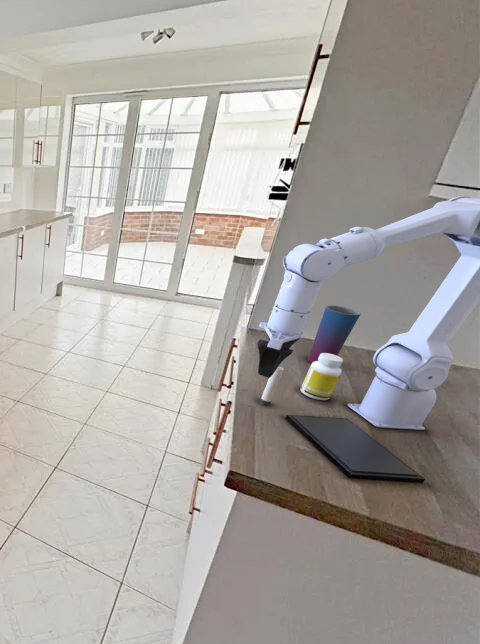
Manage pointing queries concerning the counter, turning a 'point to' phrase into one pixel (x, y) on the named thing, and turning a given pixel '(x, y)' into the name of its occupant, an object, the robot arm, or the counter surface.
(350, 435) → the tablet
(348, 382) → the counter surface
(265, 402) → the stylus
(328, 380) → the supplement bottle
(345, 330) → the cup
